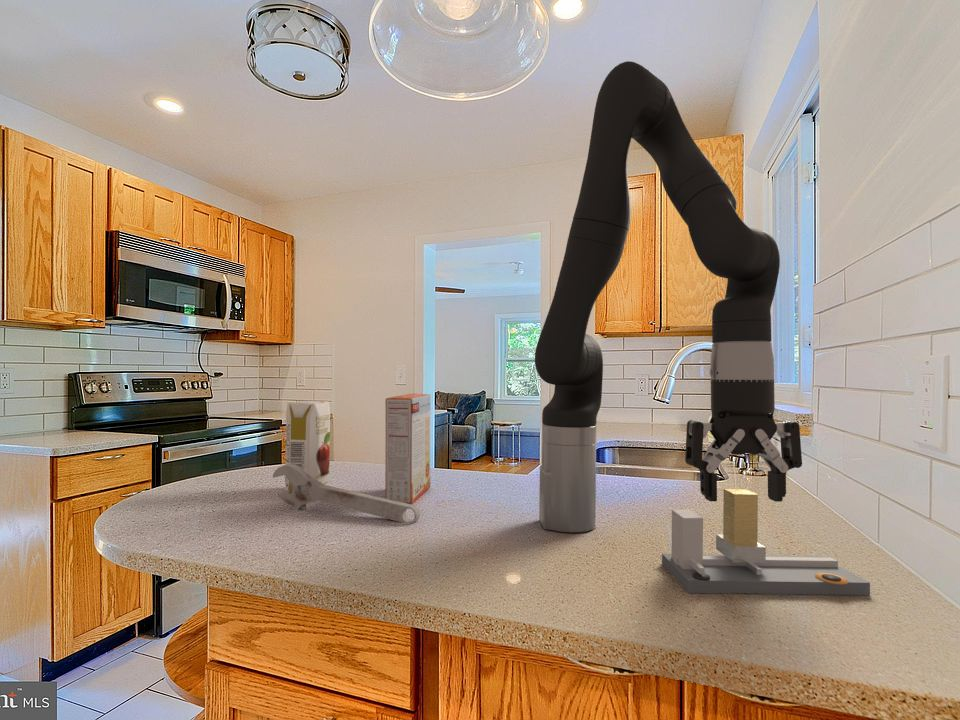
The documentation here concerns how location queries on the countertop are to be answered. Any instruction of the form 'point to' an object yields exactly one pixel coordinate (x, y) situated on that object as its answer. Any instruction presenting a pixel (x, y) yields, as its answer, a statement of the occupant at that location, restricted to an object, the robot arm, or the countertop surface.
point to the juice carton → (308, 439)
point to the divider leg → (741, 529)
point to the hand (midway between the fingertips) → (743, 500)
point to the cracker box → (407, 447)
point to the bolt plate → (731, 577)
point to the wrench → (338, 496)
